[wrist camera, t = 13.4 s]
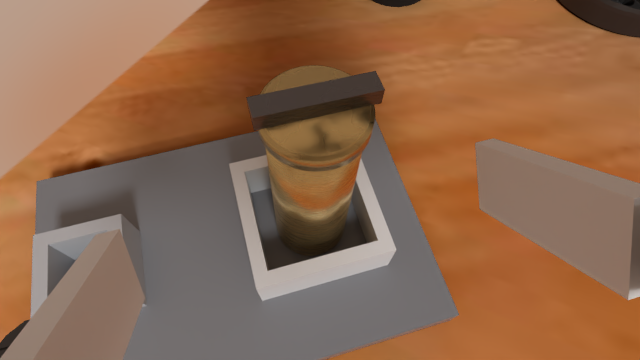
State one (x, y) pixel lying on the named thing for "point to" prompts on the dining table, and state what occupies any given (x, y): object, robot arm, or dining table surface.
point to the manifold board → (244, 256)
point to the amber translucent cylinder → (314, 149)
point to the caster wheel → (396, 2)
